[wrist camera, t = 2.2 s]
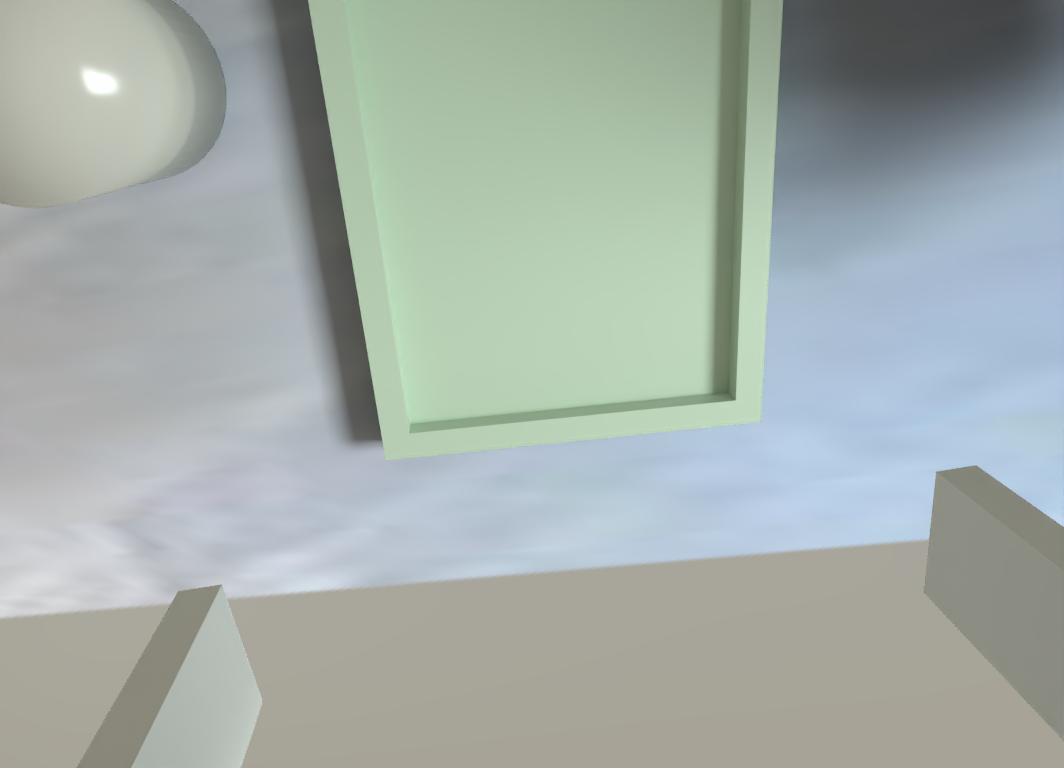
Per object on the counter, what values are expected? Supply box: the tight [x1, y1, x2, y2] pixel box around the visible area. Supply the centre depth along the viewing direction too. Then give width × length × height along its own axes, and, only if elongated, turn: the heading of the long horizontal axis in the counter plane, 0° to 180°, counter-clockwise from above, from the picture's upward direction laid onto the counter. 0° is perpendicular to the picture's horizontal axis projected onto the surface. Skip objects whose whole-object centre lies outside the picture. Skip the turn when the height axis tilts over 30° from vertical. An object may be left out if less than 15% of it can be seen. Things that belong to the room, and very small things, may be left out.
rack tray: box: [308, 0, 783, 461], centre depth 29 cm, size 20×17×2 cm
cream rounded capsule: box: [0, 0, 226, 208], centre depth 24 cm, size 7×7×8 cm
